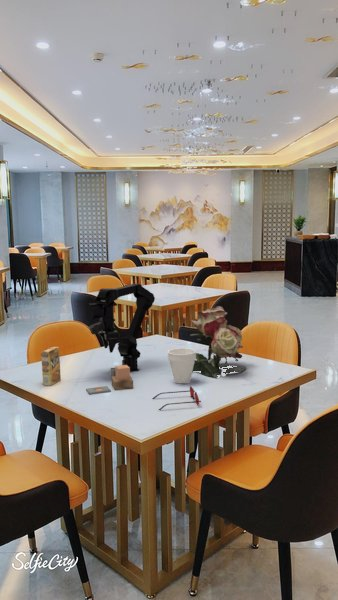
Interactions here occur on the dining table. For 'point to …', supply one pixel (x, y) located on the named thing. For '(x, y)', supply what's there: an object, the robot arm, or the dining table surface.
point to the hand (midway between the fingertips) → (108, 350)
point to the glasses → (184, 402)
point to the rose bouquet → (217, 342)
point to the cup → (182, 363)
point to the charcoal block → (113, 372)
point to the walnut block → (121, 383)
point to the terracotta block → (122, 372)
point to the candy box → (50, 366)
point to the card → (98, 390)
